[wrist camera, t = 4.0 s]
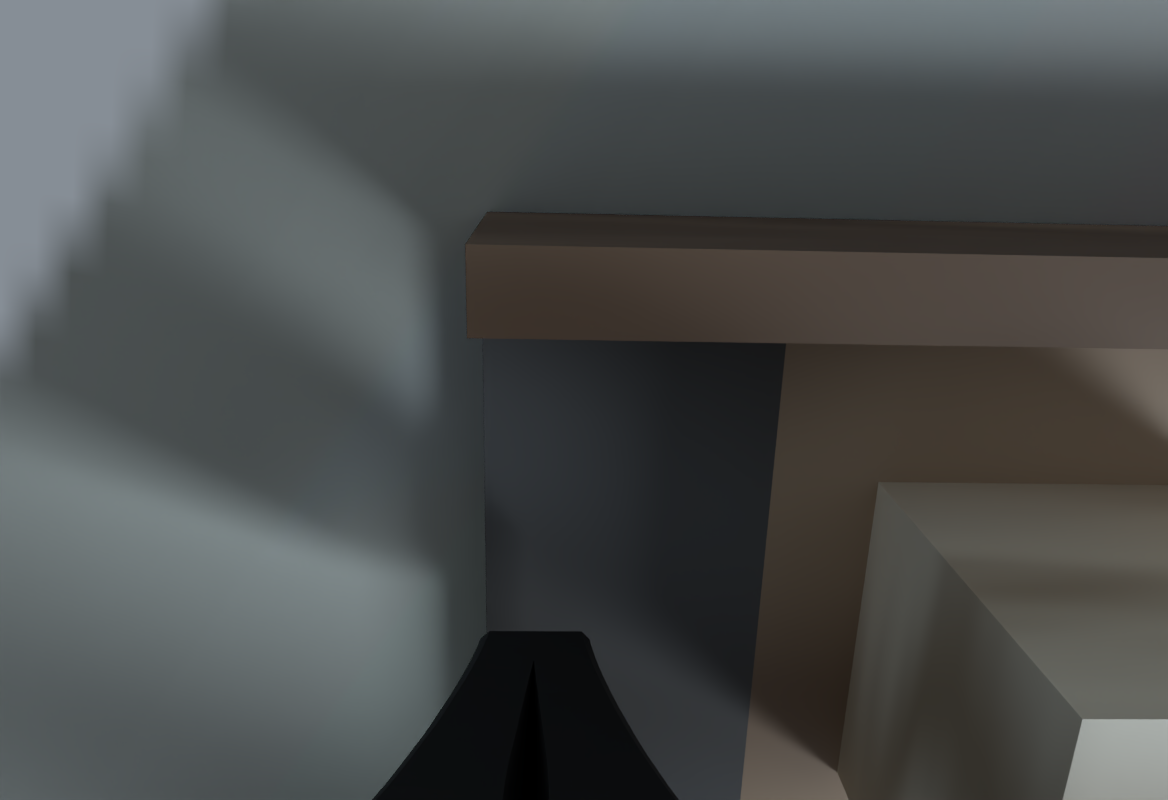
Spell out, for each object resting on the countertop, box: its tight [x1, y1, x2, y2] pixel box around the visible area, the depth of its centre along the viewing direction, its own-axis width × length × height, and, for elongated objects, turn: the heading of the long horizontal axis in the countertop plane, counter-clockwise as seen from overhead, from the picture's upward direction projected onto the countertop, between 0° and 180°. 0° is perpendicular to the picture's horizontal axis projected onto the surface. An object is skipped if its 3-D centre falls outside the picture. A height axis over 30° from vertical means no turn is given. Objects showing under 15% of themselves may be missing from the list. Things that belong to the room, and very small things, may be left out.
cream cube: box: [837, 482, 1168, 800], centre depth 11 cm, size 5×5×5 cm
